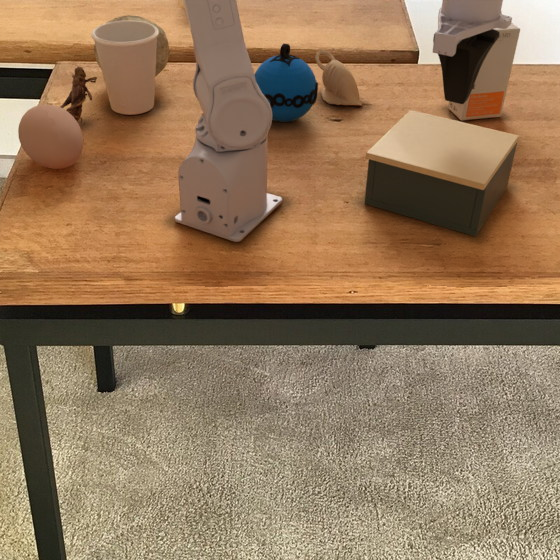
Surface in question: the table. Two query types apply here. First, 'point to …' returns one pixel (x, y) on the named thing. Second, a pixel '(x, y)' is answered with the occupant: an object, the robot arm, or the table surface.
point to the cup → (180, 4)
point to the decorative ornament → (338, 82)
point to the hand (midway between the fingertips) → (456, 100)
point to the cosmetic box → (491, 79)
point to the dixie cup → (128, 64)
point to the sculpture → (161, 48)
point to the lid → (444, 148)
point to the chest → (435, 196)
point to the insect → (78, 93)
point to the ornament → (287, 85)
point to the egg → (50, 136)
